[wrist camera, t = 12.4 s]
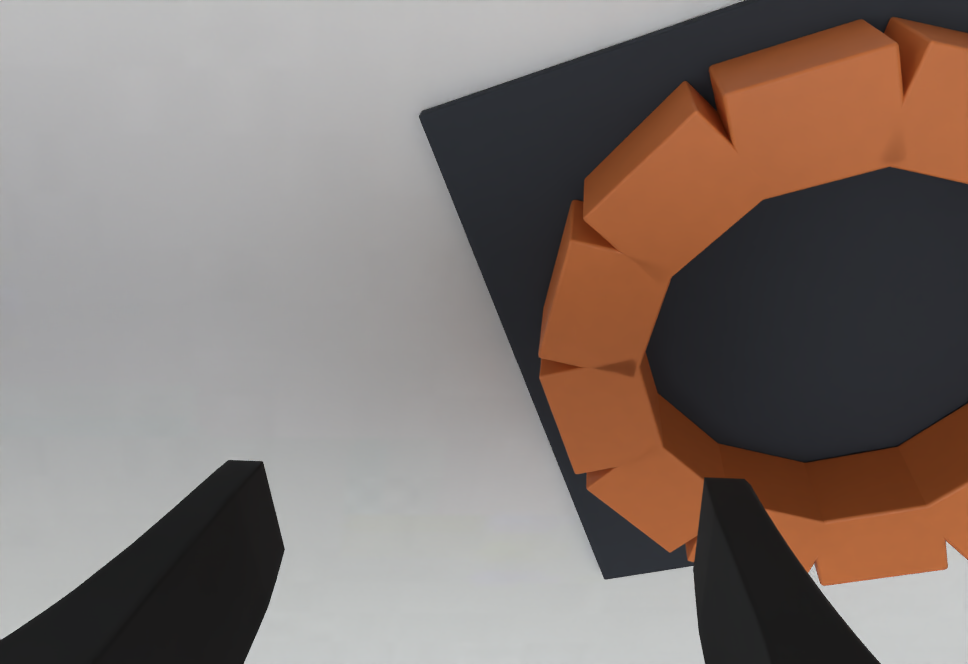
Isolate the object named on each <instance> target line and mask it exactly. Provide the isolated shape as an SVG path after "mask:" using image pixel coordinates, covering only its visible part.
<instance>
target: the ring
mask: <svg viewBox="0 0 968 664" xmlns="http://www.w3.org/2000/svg"><path fill="white" fill-rule="evenodd" d="M709 75H710V79H711V84H712V89H713V94H714V99H715V104H716V108H717V111H716V110H715V109H714V108H713V107H712V106H711V105H710V104H709V103H708V102H707V101H706V100H705V99H704V98H703V97H702V96H701V95H700V94H699V93H698V92H697V91H696V90H695V89H694V88H693V87H692V86H691V85H690V84H689V83H688V82H687V81H684V82H682V83H681V84H680V85H679V86H678V87H677V88H676V89H675V90H674V91H673V92H672V93H671V94H670V95H669V96H668V97H667V98H666V99H665V100H664V101H663V102H662V103H661V104H660V105H659V106H658V107H657V108H656V109H655V110H654V111H653V112H652V113H651V114H650V115H649V116H648V117H647V118H646V119H645V120H644V121H643V122H642V123H641V124H640V125H639V126H638V127H637V128H636V129H635V130H634V131H633V132H632V133H631V134H630V135H629V136H628V137H627V138H626V139H625V140H624V141H623V142H621V143H620V144H619V145H618V146H617V147H616V148H615V149H614V150H613V151H612V152H611V153H610V154H609V155H608V156H607V157H606V158H605V159H604V160H603V161H602V162H601V163H600V164H599V165H598V166H597V167H596V168H595V169H594V170H593V171H592V172H591V173H590V174H589V175H588V176H587V177H586V178H585V180H584V202H583V201H578V200H573V201H572V202H571V205H570V209H569V213H568V217H567V221H566V224H565V228H564V232H563V236H562V239H561V243H560V247H559V251H558V255H557V258H556V262H555V266H554V270H553V273H552V277H551V281H550V285H549V289H548V292H547V296H546V300H545V304H544V308H543V316H542V325H541V334H540V344H539V353H538V355H539V357H540V358H541V366H540V376H539V379H540V381H541V384H542V387H543V389H544V392H545V395H546V397H547V400H548V403H549V405H550V408H551V411H552V414H553V416H554V419H555V422H556V424H557V427H558V430H559V432H560V435H561V438H562V440H563V443H564V446H565V448H566V451H567V454H568V457H569V459H570V462H571V465H572V467H573V470H574V472H575V474H582V473H587V478H586V488H587V490H588V491H590V492H591V493H592V494H594V495H595V496H596V497H597V498H599V499H600V500H601V501H603V502H604V503H605V504H607V505H608V506H609V507H611V508H612V509H613V510H614V511H616V512H617V513H618V514H620V515H621V516H622V517H624V518H625V519H626V520H628V521H629V522H630V523H631V524H633V525H634V526H635V527H637V528H638V529H639V530H641V531H642V532H643V533H645V534H646V535H647V536H648V537H650V538H651V539H652V540H654V541H655V542H656V543H658V544H659V545H660V546H662V547H663V548H664V549H665V550H667V551H668V552H672V551H674V550H675V549H677V548H679V547H680V546H682V545H683V544H685V545H686V553H687V560H688V561H691V562H694V560H695V551H696V543H697V535H698V526H699V518H700V509H701V501H702V493H703V484H704V477H709V478H737V479H745V480H746V481H747V482H748V483H749V484H750V485H751V486H752V488H753V490H754V491H755V493H756V495H757V497H758V498H759V500H760V502H761V503H762V505H763V507H764V508H765V510H766V512H767V513H768V515H769V517H770V518H771V520H772V521H773V523H774V524H775V526H776V528H777V529H778V531H779V532H780V534H781V535H782V537H783V538H784V540H785V541H786V543H787V544H788V546H789V547H790V549H791V550H792V552H793V553H794V554H795V556H796V557H797V559H798V560H799V562H800V563H801V564H802V566H803V567H804V569H805V570H806V571H807V573H808V572H809V571H810V569H811V567H812V566H813V564H815V568H816V571H817V574H818V578H819V581H820V583H821V584H822V585H823V586H826V585H834V584H841V583H848V582H856V581H863V580H871V579H878V578H885V577H893V576H900V575H908V574H915V573H922V572H930V571H937V570H945V569H947V567H948V563H947V552H946V542H945V540H946V541H947V542H948V543H949V544H950V545H951V546H953V547H954V548H955V549H956V550H957V551H958V552H959V553H960V554H962V555H963V556H964V557H965V558H966V559H967V560H968V403H967V404H966V405H964V406H962V407H961V408H959V409H957V410H956V411H954V412H953V413H951V414H949V415H948V416H946V417H944V418H943V419H941V420H940V421H938V422H936V423H935V424H933V425H931V426H930V427H928V428H927V429H925V430H923V431H922V432H920V433H918V434H917V435H915V436H914V437H912V438H910V439H909V440H907V441H905V442H904V443H902V444H901V445H899V446H897V447H892V448H886V449H880V450H875V451H869V452H863V453H857V454H852V455H846V456H840V457H835V458H829V459H823V460H817V461H812V462H806V463H804V462H799V461H795V460H790V459H786V458H781V457H777V456H772V455H768V454H763V453H759V452H754V451H750V450H745V449H741V448H736V447H732V446H727V445H723V444H718V443H717V442H716V441H714V440H713V439H712V438H711V437H710V436H708V435H707V434H706V433H705V432H704V431H702V430H701V429H700V428H699V427H698V426H696V425H695V424H694V423H693V422H692V421H691V420H689V419H688V418H687V417H686V416H685V415H683V414H682V413H681V412H680V411H679V410H677V409H676V408H675V407H674V406H673V405H671V404H670V403H669V402H668V401H667V400H665V399H664V398H663V397H662V396H661V395H659V394H658V393H657V389H656V386H655V383H654V379H653V376H652V372H651V369H650V365H649V362H648V359H647V355H646V352H645V351H646V348H647V345H648V343H649V340H650V337H651V334H652V331H653V328H654V326H655V323H656V320H657V317H658V314H659V312H660V309H661V306H662V303H663V300H664V298H665V295H666V292H667V289H668V286H669V283H670V281H671V278H672V276H674V275H675V274H676V273H677V272H678V271H680V270H681V269H682V268H683V267H684V266H685V265H687V264H688V263H689V262H690V261H691V260H692V259H694V258H695V257H696V256H697V255H698V254H700V253H701V252H702V251H703V250H704V249H705V248H707V247H708V246H709V245H710V244H711V243H713V242H714V241H715V240H716V239H717V238H718V237H720V236H721V235H722V234H723V233H724V232H726V231H727V230H728V229H729V228H730V227H731V226H733V225H734V224H735V223H736V222H737V221H739V220H740V219H741V218H742V217H743V216H744V215H746V214H747V213H748V212H749V211H750V210H751V209H753V208H754V207H755V206H756V205H757V204H759V203H760V202H761V201H762V200H764V199H768V198H772V197H776V196H779V195H783V194H787V193H791V192H795V191H799V190H802V189H806V188H810V187H814V186H818V185H822V184H825V183H829V182H833V181H837V180H841V179H844V178H848V177H852V176H856V175H860V174H864V173H867V172H871V171H875V170H879V169H883V168H887V167H893V168H898V169H902V170H907V171H911V172H916V173H920V174H925V175H929V176H934V177H938V178H943V179H947V180H952V181H956V182H961V183H965V184H968V33H965V32H960V31H956V30H951V29H947V28H942V27H938V26H933V25H929V24H924V23H920V22H915V21H911V20H906V19H902V18H897V17H892V18H891V19H890V20H889V22H888V25H887V27H886V29H885V32H884V33H882V32H881V31H879V30H878V29H876V28H875V27H873V26H872V25H870V24H869V23H867V22H866V21H864V20H862V19H859V20H856V21H853V22H849V23H846V24H843V25H840V26H836V27H833V28H830V29H827V30H823V31H820V32H817V33H814V34H811V35H807V36H804V37H801V38H798V39H794V40H791V41H788V42H785V43H782V44H778V45H775V46H772V47H769V48H765V49H762V50H759V51H756V52H752V53H749V54H746V55H743V56H740V57H736V58H733V59H730V60H727V61H723V62H720V63H717V64H714V65H711V66H710V67H709Z"/></svg>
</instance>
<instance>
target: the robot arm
mask: <svg viewBox="0 0 968 664" xmlns="http://www.w3.org/2000/svg"><path fill="white" fill-rule="evenodd" d="M284 550H285V549H284V545H283V541H282V536H281V532H280V528H279V524H278V520H277V516H276V512H275V508H274V504H273V500H272V496H271V492H270V488H269V484H268V480H267V476H266V472H265V468H264V464H263V461H238V460H228V461H227V462H226V463H224V464H223V465H222V466H221V467H220V468H218V469H217V470H216V471H215V472H214V473H213V474H211V475H210V476H209V477H208V478H207V479H206V480H205V481H203V482H202V483H201V484H200V485H199V486H198V487H197V488H196V489H194V490H193V491H192V492H191V493H190V494H189V495H188V496H187V497H185V498H184V499H183V500H182V501H181V502H180V503H179V504H178V505H176V506H175V507H174V508H173V509H172V510H171V511H170V512H168V513H167V514H166V515H165V516H164V517H163V518H162V519H160V520H159V521H158V522H157V523H156V524H155V525H153V526H152V527H151V528H150V529H149V530H148V531H146V532H145V533H144V534H143V535H142V536H141V537H139V538H138V539H137V540H136V541H135V542H134V543H132V544H131V545H130V546H129V547H128V548H126V549H125V550H124V551H123V552H121V553H120V554H119V555H118V556H116V557H115V558H114V559H112V560H111V561H110V562H109V563H107V564H106V565H105V566H104V567H102V568H101V569H100V570H99V571H97V572H96V573H95V574H94V575H92V576H91V577H90V578H89V579H87V580H86V581H85V582H84V583H82V584H81V585H80V586H78V587H77V588H76V589H74V590H73V591H72V592H70V593H69V594H68V595H66V596H65V597H64V598H62V599H61V600H59V601H58V602H57V603H55V604H54V605H52V606H51V607H50V608H48V609H47V610H45V611H44V612H42V613H41V614H39V615H38V616H36V617H35V618H33V619H32V620H31V621H29V622H28V623H26V624H25V625H23V626H22V627H20V628H19V629H17V630H16V631H14V632H13V633H11V634H10V635H8V636H6V637H5V638H3V639H2V640H0V664H244V661H245V659H246V657H247V655H248V652H249V650H250V648H251V645H252V643H253V641H254V638H255V636H256V634H257V632H258V629H259V627H260V625H261V622H262V620H263V618H264V615H265V613H266V610H267V608H268V605H269V602H270V599H271V596H272V592H273V589H274V586H275V583H276V579H277V576H278V572H279V568H280V565H281V561H282V558H283V554H284ZM693 572H694V584H695V596H696V607H697V618H698V628H699V635H700V640H701V645H702V650H703V655H704V660H705V664H880V662H879V661H878V660H877V659H876V658H875V657H874V656H873V654H872V653H871V652H870V651H869V650H868V649H867V648H866V646H865V645H864V644H863V643H862V642H861V641H860V639H859V638H858V637H857V636H856V635H855V633H854V632H853V631H852V630H851V628H850V627H849V626H848V625H847V624H846V622H845V621H844V620H843V619H842V617H841V616H840V615H839V614H838V613H837V611H836V610H835V609H834V607H833V606H832V605H831V604H830V602H829V601H828V600H827V598H826V597H825V596H824V594H823V593H822V592H821V590H820V589H819V588H818V586H817V585H816V584H815V582H814V581H813V580H812V578H811V577H810V575H809V574H808V573H807V571H806V570H805V569H804V567H803V566H802V564H801V563H800V562H799V560H798V559H797V557H796V556H795V554H794V553H793V552H792V550H791V549H790V547H789V546H788V544H787V543H786V541H785V540H784V538H783V537H782V535H781V534H780V532H779V531H778V529H777V528H776V526H775V524H774V523H773V521H772V520H771V518H770V517H769V515H768V513H767V512H766V510H765V508H764V507H763V505H762V503H761V502H760V500H759V498H758V497H757V495H756V493H755V491H754V490H753V488H752V486H751V485H750V484H749V483H748V482H747V481H746V480H745V479H737V478H709V477H704V484H703V493H702V501H701V509H700V518H699V526H698V535H697V543H696V551H695V560H694V568H693Z"/></svg>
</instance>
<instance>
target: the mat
mask: <svg viewBox="0 0 968 664" xmlns="http://www.w3.org/2000/svg"><path fill="white" fill-rule="evenodd" d="M892 17H897V18H902V19H906V20H911V21H915V22H920V23H924V24H929V25H933V26H938V27H942V28H947V29H951V30H956V31H960V32H965V33H968V0H746V1H743V2H740V3H738V4H735V5H732V6H729V7H726V8H723V9H720V10H717V11H714V12H711V13H708V14H705V15H702V16H699V17H697V18H694V19H691V20H688V21H685V22H682V23H679V24H676V25H673V26H670V27H667V28H664V29H661V30H658V31H656V32H653V33H650V34H647V35H644V36H641V37H638V38H635V39H632V40H629V41H626V42H623V43H620V44H617V45H614V46H612V47H609V48H606V49H603V50H600V51H597V52H594V53H591V54H588V55H585V56H582V57H579V58H576V59H573V60H571V61H568V62H565V63H562V64H559V65H556V66H553V67H550V68H547V69H544V70H541V71H538V72H535V73H532V74H530V75H527V76H524V77H521V78H518V79H515V80H512V81H509V82H506V83H503V84H500V85H497V86H494V87H491V88H488V89H486V90H483V91H480V92H477V93H474V94H471V95H468V96H465V97H462V98H459V99H456V100H453V101H450V102H447V103H445V104H442V105H439V106H436V107H433V108H430V109H427V110H424V111H422V112H421V114H420V115H419V118H420V121H421V123H422V126H423V128H424V131H425V133H426V136H427V138H428V141H429V143H430V146H431V148H432V151H433V153H434V156H435V158H436V161H437V163H438V166H439V168H440V171H441V173H442V176H443V178H444V180H445V183H446V185H447V188H448V190H449V193H450V195H451V198H452V200H453V203H454V205H455V208H456V210H457V213H458V215H459V218H460V220H461V223H462V225H463V228H464V230H465V233H466V235H467V238H468V240H469V243H470V245H471V248H472V250H473V253H474V255H475V258H476V260H477V263H478V265H479V268H480V270H481V273H482V275H483V278H484V280H485V283H486V285H487V288H488V290H489V293H490V295H491V298H492V300H493V303H494V305H495V308H496V310H497V313H498V315H499V318H500V320H501V323H502V325H503V328H504V330H505V333H506V335H507V338H508V340H509V343H510V345H511V348H512V350H513V353H514V355H515V358H516V360H517V363H518V365H519V368H520V370H521V373H522V375H523V378H524V380H525V383H526V385H527V388H528V390H529V392H530V395H531V397H532V400H533V402H534V405H535V407H536V410H537V412H538V415H539V417H540V420H541V422H542V425H543V427H544V430H545V432H546V435H547V437H548V440H549V442H550V445H551V447H552V450H553V452H554V455H555V457H556V460H557V462H558V465H559V467H560V470H561V472H562V475H563V477H564V480H565V482H566V485H567V487H568V490H569V492H570V495H571V497H572V500H573V502H574V505H575V507H576V510H577V512H578V515H579V517H580V520H581V522H582V525H583V527H584V530H585V532H586V535H587V537H588V540H589V542H590V545H591V547H592V550H593V552H594V555H595V557H596V560H597V562H598V565H599V567H600V570H601V572H602V575H603V577H604V579H612V578H618V577H625V576H631V575H638V574H644V573H650V572H657V571H663V570H669V569H676V568H682V567H688V566H694V562H691V561H688V560H687V553H686V545H685V544H683V545H682V546H680V547H679V548H677V549H675V550H674V551H672V552H668V551H667V550H665V549H664V548H663V547H662V546H660V545H659V544H658V543H656V542H655V541H654V540H652V539H651V538H650V537H648V536H647V535H646V534H645V533H643V532H642V531H641V530H639V529H638V528H637V527H635V526H634V525H633V524H631V523H630V522H629V521H628V520H626V519H625V518H624V517H622V516H621V515H620V514H618V513H617V512H616V511H614V510H613V509H612V508H611V507H609V506H608V505H607V504H605V503H604V502H603V501H601V500H600V499H599V498H597V497H596V496H595V495H594V494H592V493H591V492H590V491H588V490H587V488H586V478H587V473H582V474H575V472H574V470H573V467H572V465H571V462H570V459H569V457H568V454H567V451H566V448H565V446H564V443H563V440H562V438H561V435H560V432H559V430H558V427H557V424H556V422H555V419H554V416H553V414H552V411H551V408H550V405H549V403H548V400H547V397H546V395H545V392H544V389H543V387H542V384H541V381H540V379H539V376H540V366H541V358H540V357H539V355H538V353H539V344H540V334H541V325H542V316H543V308H544V304H545V300H546V296H547V292H548V289H549V285H550V281H551V277H552V273H553V270H554V266H555V262H556V258H557V255H558V251H559V247H560V243H561V239H562V236H563V232H564V228H565V224H566V221H567V217H568V213H569V209H570V205H571V202H572V201H573V200H578V201H583V202H584V180H585V178H586V177H587V176H588V175H589V174H590V173H591V172H592V171H593V170H594V169H595V168H596V167H597V166H598V165H599V164H600V163H601V162H602V161H603V160H604V159H605V158H606V157H607V156H608V155H609V154H610V153H611V152H612V151H613V150H614V149H615V148H616V147H617V146H618V145H619V144H620V143H621V142H623V141H624V140H625V139H626V138H627V137H628V136H629V135H630V134H631V133H632V132H633V131H634V130H635V129H636V128H637V127H638V126H639V125H640V124H641V123H642V122H643V121H644V120H645V119H646V118H647V117H648V116H649V115H650V114H651V113H652V112H653V111H654V110H655V109H656V108H657V107H658V106H659V105H660V104H661V103H662V102H663V101H664V100H665V99H666V98H667V97H668V96H669V95H670V94H671V93H672V92H673V91H674V90H675V89H676V88H677V87H678V86H679V85H680V84H681V83H682V82H684V81H687V82H688V83H689V84H690V85H691V86H692V87H693V88H694V89H695V90H696V91H697V92H698V93H699V94H700V95H701V96H702V97H703V98H704V99H705V100H706V101H707V102H708V103H709V104H710V105H711V106H712V107H713V108H714V109H715V110H716V111H717V108H716V104H715V99H714V94H713V89H712V84H711V79H710V75H709V67H710V66H711V65H714V64H717V63H720V62H723V61H727V60H730V59H733V58H736V57H740V56H743V55H746V54H749V53H752V52H756V51H759V50H762V49H765V48H769V47H772V46H775V45H778V44H782V43H785V42H788V41H791V40H794V39H798V38H801V37H804V36H807V35H811V34H814V33H817V32H820V31H823V30H827V29H830V28H833V27H836V26H840V25H843V24H846V23H849V22H853V21H856V20H859V19H862V20H864V21H866V22H867V23H869V24H870V25H872V26H873V27H875V28H876V29H878V30H879V31H881V32H882V33H884V32H885V29H886V27H887V25H888V22H889V20H890V19H891V18H892ZM645 352H646V355H647V359H648V362H649V365H650V369H651V372H652V376H653V379H654V383H655V386H656V389H657V393H658V394H659V395H661V396H662V397H663V398H664V399H665V400H667V401H668V402H669V403H670V404H671V405H673V406H674V407H675V408H676V409H677V410H679V411H680V412H681V413H682V414H683V415H685V416H686V417H687V418H688V419H689V420H691V421H692V422H693V423H694V424H695V425H696V426H698V427H699V428H700V429H701V430H702V431H704V432H705V433H706V434H707V435H708V436H710V437H711V438H712V439H713V440H714V441H716V442H717V443H718V444H723V445H727V446H732V447H736V448H741V449H745V450H750V451H754V452H759V453H763V454H768V455H772V456H777V457H781V458H786V459H790V460H795V461H799V462H804V463H806V462H812V461H817V460H823V459H829V458H835V457H840V456H846V455H852V454H857V453H863V452H869V451H875V450H880V449H886V448H892V447H897V446H899V445H901V444H902V443H904V442H905V441H907V440H909V439H910V438H912V437H914V436H915V435H917V434H918V433H920V432H922V431H923V430H925V429H927V428H928V427H930V426H931V425H933V424H935V423H936V422H938V421H940V420H941V419H943V418H944V417H946V416H948V415H949V414H951V413H953V412H954V411H956V410H957V409H959V408H961V407H962V406H964V405H966V404H967V403H968V184H965V183H961V182H956V181H952V180H947V179H943V178H938V177H934V176H929V175H925V174H920V173H916V172H911V171H907V170H902V169H898V168H893V167H887V168H883V169H879V170H875V171H871V172H867V173H864V174H860V175H856V176H852V177H848V178H844V179H841V180H837V181H833V182H829V183H825V184H822V185H818V186H814V187H810V188H806V189H802V190H799V191H795V192H791V193H787V194H783V195H779V196H776V197H772V198H768V199H764V200H762V201H761V202H760V203H759V204H757V205H756V206H755V207H754V208H753V209H751V210H750V211H749V212H748V213H747V214H746V215H744V216H743V217H742V218H741V219H740V220H739V221H737V222H736V223H735V224H734V225H733V226H731V227H730V228H729V229H728V230H727V231H726V232H724V233H723V234H722V235H721V236H720V237H718V238H717V239H716V240H715V241H714V242H713V243H711V244H710V245H709V246H708V247H707V248H705V249H704V250H703V251H702V252H701V253H700V254H698V255H697V256H696V257H695V258H694V259H692V260H691V261H690V262H689V263H688V264H687V265H685V266H684V267H683V268H682V269H681V270H680V271H678V272H677V273H676V274H675V275H674V276H672V278H671V281H670V283H669V286H668V289H667V292H666V295H665V298H664V300H663V303H662V306H661V309H660V312H659V314H658V317H657V320H656V323H655V326H654V328H653V331H652V334H651V337H650V340H649V343H648V345H647V348H646V351H645Z"/></svg>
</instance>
